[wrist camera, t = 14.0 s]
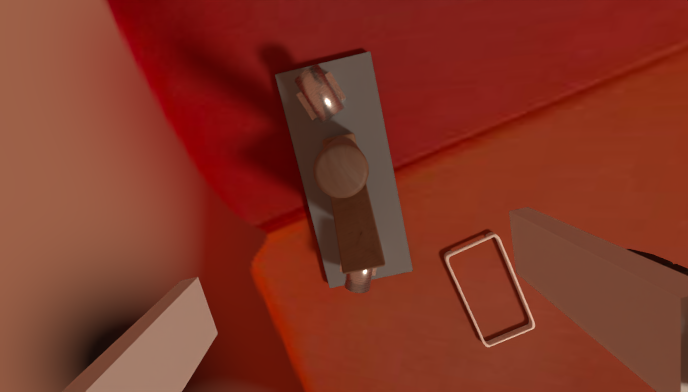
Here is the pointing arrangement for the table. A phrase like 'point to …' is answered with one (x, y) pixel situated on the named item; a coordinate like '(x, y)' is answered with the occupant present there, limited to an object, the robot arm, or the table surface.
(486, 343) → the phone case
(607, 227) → the table surface
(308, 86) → the grey block
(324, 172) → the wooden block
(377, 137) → the plate
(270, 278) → the table surface
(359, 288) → the grey knob
